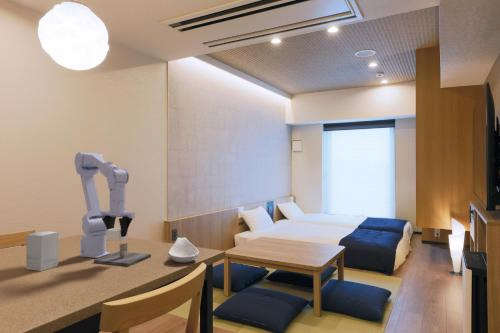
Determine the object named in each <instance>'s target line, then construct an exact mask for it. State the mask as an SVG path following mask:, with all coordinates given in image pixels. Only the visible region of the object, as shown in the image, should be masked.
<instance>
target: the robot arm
mask: <svg viewBox="0 0 500 333" xmlns="http://www.w3.org/2000/svg"><path fill="white" fill-rule="evenodd" d="M74 167H75V170H76V174H78V175H79V176H80V180H81V185H82V190H83V195H84V200H85V205H86V210H87V213H86V212H85V214H84V215H83V216H82V219H81V222H82V223H81V229H82V233H84V234H83V235H82V236H81V239H80V254H79V255H78V256H79V257H81V258H82V257H85V258H93V259H98V258H101V257H104V256H107V255H110V254H112V253H111V252H110V251H107V240H106V230H108V229H112V228H115V224H116V219H117V218H118V221H119V222H118V223H119V226H120V227H119V228H121V237H124V236H126V234H127V231H129V227H130V225H131V222H132V221H133V218H134V219H135V217H136V212H134V211H133V212H131V211H127V210H126V195H127V194H126V193H127V192H126V191H127V190H126V188H127V187H126V184H128V182H129V178H130V175H129V171H128V170H127V169H125V168H123V169H120V168H119V167H118V166H117V165H115V164H114V163H113V161H106V160H105V159H104V155H103V154H102V153H101V152H81V151H78V152H76V154H75V156H74ZM99 172H100V174H102V175H103V176H104V177H105V178H106V182H107V187H108V189H109V210H102V209H101V204H100V200H99V195H98V190H97V186H96V181H95V177H94V176H95V175H97V174H98V173H99Z"/></svg>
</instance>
